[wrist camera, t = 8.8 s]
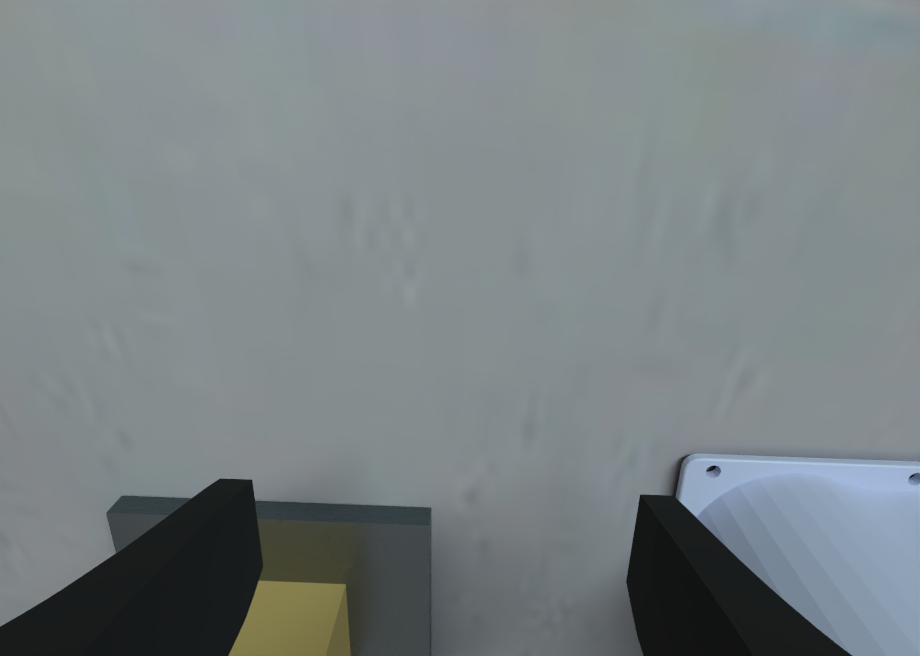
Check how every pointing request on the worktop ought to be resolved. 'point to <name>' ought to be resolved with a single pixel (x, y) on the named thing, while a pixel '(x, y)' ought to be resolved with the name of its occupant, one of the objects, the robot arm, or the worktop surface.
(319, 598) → the yellow square planter
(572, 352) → the worktop surface
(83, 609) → the robot arm
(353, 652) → the grey square base plate
